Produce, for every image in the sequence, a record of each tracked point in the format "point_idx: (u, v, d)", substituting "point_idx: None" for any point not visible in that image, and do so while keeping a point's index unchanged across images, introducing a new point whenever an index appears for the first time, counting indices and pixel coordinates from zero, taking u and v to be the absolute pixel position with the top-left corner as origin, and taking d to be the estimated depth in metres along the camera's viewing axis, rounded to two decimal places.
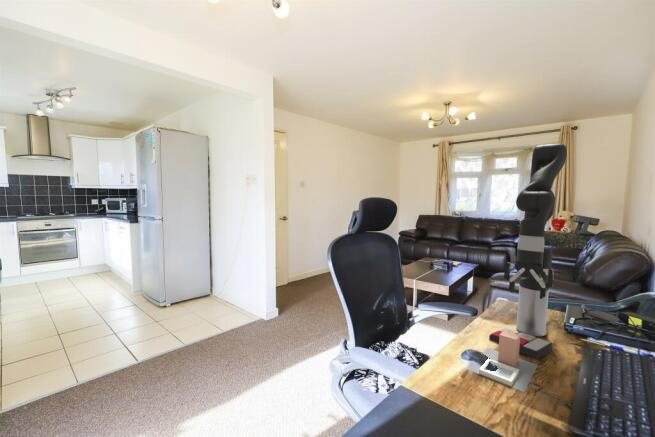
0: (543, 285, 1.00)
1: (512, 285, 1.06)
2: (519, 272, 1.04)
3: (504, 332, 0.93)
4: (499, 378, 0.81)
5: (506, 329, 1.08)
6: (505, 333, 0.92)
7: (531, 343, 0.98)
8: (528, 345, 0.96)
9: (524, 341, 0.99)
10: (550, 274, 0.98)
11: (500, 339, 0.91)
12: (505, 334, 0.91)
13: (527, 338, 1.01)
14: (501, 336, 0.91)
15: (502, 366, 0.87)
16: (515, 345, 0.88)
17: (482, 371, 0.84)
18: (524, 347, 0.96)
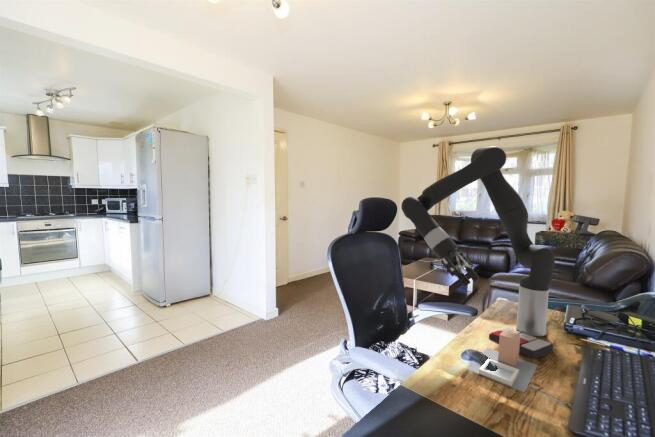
0: None
1: None
2: None
3: (504, 332, 0.93)
4: (499, 378, 0.81)
5: (508, 329, 1.08)
6: (505, 333, 0.92)
7: (530, 343, 0.97)
8: (526, 345, 0.96)
9: (523, 341, 0.99)
10: None
11: (500, 339, 0.91)
12: (505, 334, 0.91)
13: (527, 338, 1.01)
14: (501, 336, 0.91)
15: (502, 366, 0.87)
16: (515, 345, 0.88)
17: (482, 371, 0.84)
18: (522, 347, 0.96)
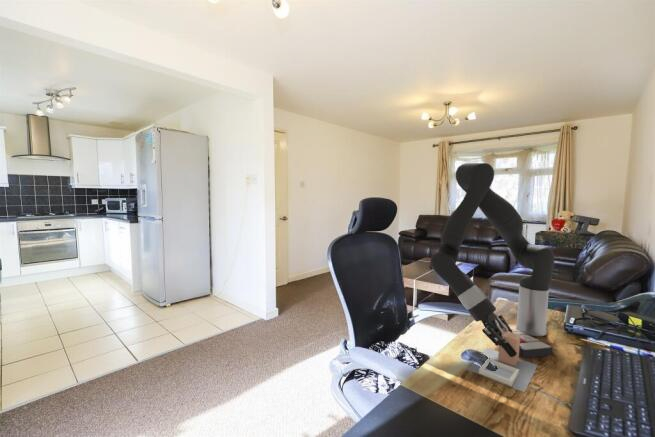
0: None
1: None
2: None
3: (505, 332, 0.93)
4: (499, 378, 0.81)
5: (513, 330, 1.08)
6: (505, 333, 0.92)
7: (526, 343, 0.97)
8: (520, 344, 0.97)
9: None
10: None
11: None
12: (505, 334, 0.91)
13: (527, 339, 1.00)
14: None
15: (502, 366, 0.87)
16: (515, 345, 0.88)
17: (482, 371, 0.84)
18: None
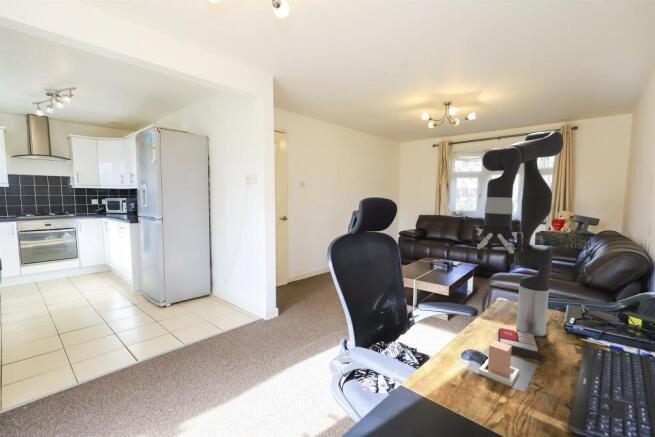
0: (512, 250, 0.91)
1: (480, 252, 0.97)
2: (487, 238, 0.95)
3: (495, 342, 0.86)
4: (499, 378, 0.81)
5: (527, 334, 1.05)
6: (495, 343, 0.85)
7: (513, 341, 0.99)
8: (504, 340, 1.00)
9: (510, 338, 1.00)
10: (519, 238, 0.89)
11: (490, 350, 0.84)
12: (495, 345, 0.84)
13: (522, 340, 0.99)
14: (491, 347, 0.84)
15: None
16: (506, 357, 0.81)
17: (482, 371, 0.84)
18: (499, 339, 1.01)
